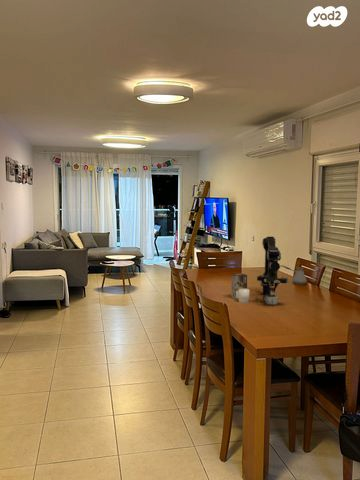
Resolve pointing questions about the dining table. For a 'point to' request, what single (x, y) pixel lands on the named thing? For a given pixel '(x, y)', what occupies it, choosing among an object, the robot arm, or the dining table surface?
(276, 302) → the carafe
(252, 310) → the dining table surface
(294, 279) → the coffee pot
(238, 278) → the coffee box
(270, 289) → the plunger
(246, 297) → the mug
